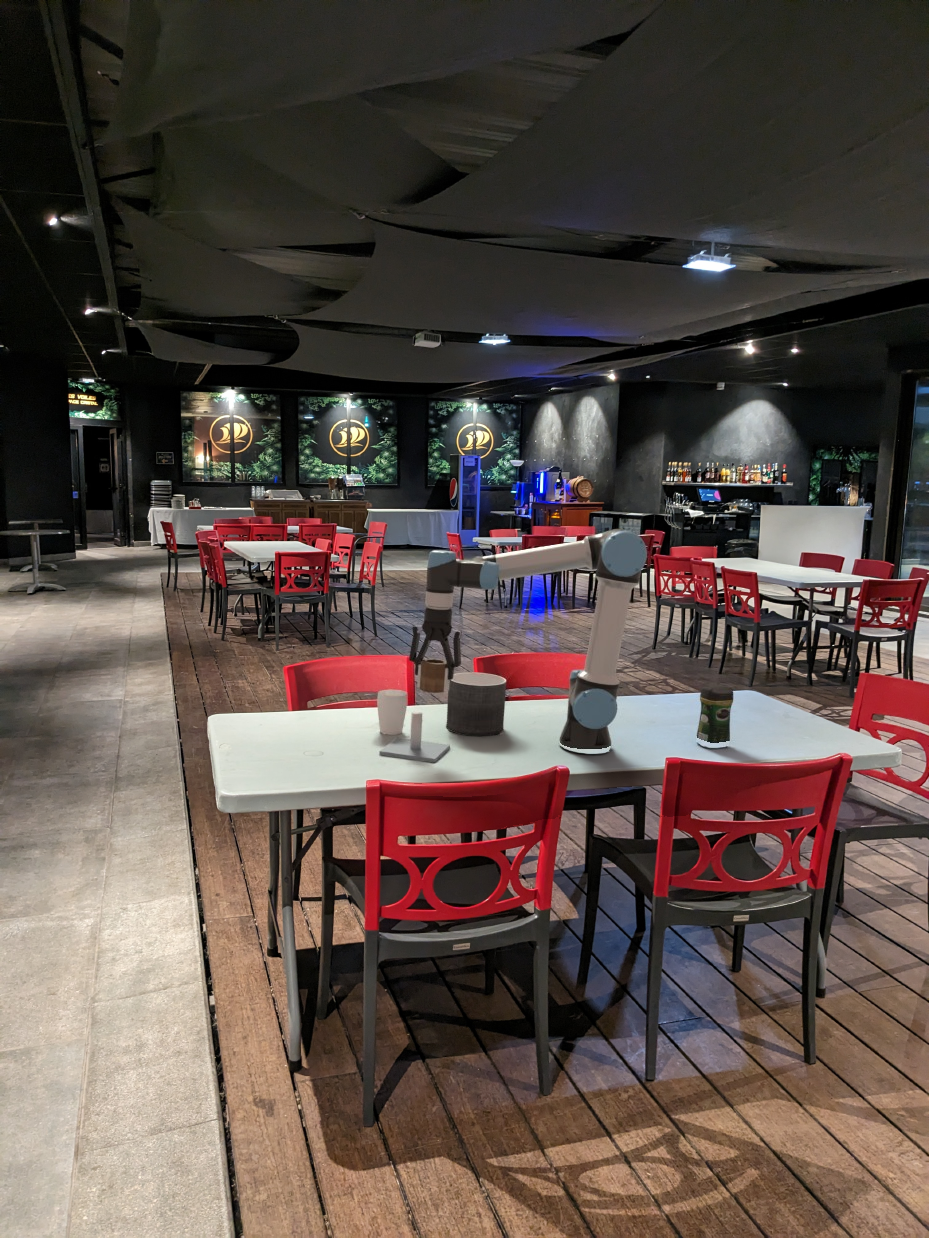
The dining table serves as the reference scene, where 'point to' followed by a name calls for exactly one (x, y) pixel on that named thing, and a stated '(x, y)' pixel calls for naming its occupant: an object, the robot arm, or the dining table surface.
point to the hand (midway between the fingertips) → (433, 688)
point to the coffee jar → (715, 714)
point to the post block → (415, 744)
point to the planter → (476, 704)
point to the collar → (432, 675)
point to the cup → (391, 710)
